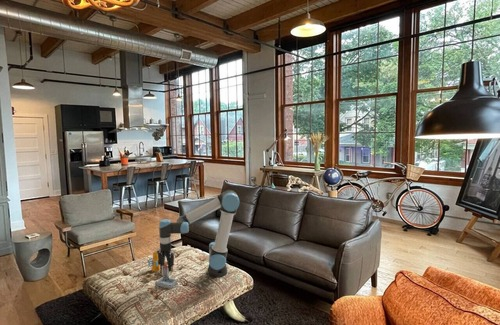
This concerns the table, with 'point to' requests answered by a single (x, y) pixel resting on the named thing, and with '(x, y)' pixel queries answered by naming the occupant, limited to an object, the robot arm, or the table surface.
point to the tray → (167, 283)
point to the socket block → (148, 277)
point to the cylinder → (154, 262)
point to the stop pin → (165, 273)
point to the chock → (164, 264)
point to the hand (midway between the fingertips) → (166, 274)
